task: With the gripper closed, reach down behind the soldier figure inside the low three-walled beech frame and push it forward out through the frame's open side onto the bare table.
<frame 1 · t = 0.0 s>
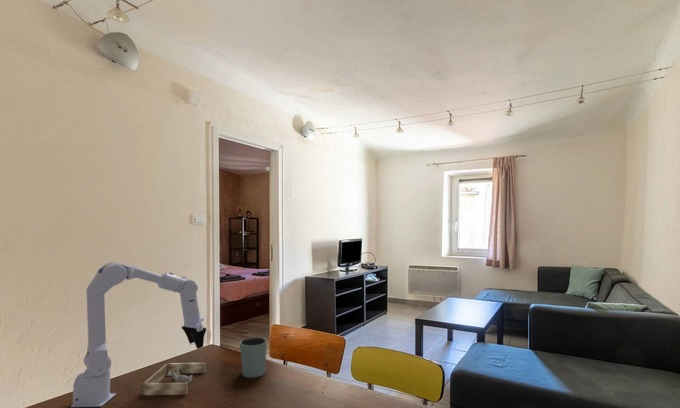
hand: (196, 345, 137), 11 cm above the table, tool pointing down, fingers open, 7 cm apart
green cup: (253, 373, 137), on the table
soldier figure: (180, 383, 129), on the table
beech frame: (177, 382, 129), on the table
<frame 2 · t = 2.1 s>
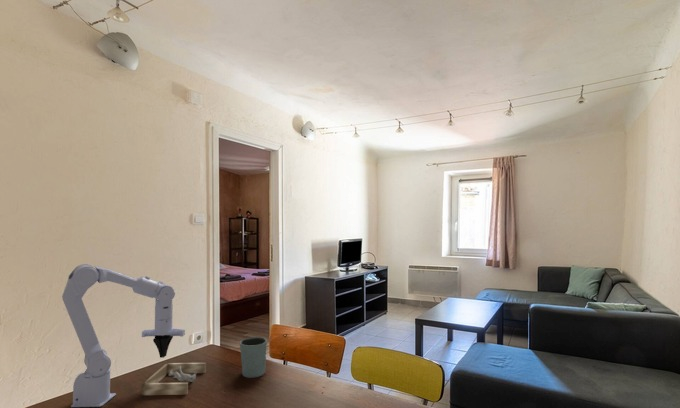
hand: (163, 356, 129), 9 cm above the table, tool pointing down, fingers closed
soldier figure: (182, 382, 130), on the table
everything else where it was.
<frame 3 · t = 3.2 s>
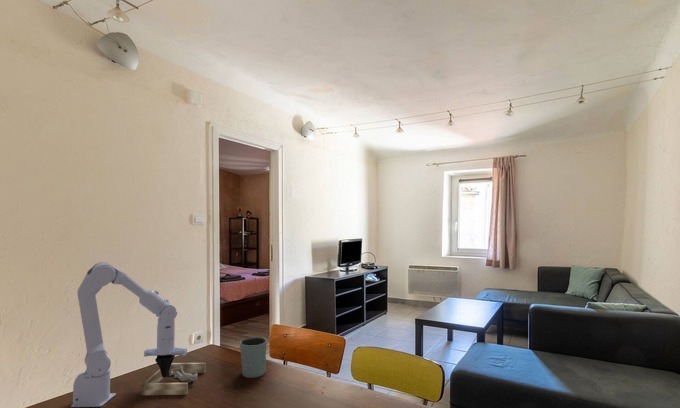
hand: (165, 376, 129), 2 cm above the table, tool pointing down, fingers closed
nothing on the table moved.
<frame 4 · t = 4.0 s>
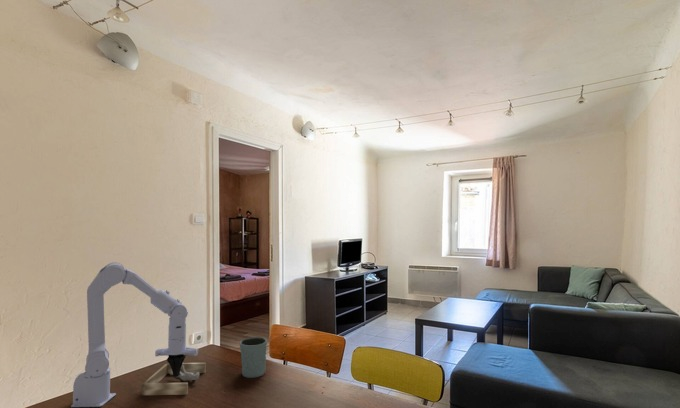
hand: (176, 375, 129), 2 cm above the table, tool pointing down, fingers closed
soldier figure: (185, 381, 131), on the table, touching gripper
everything else where it was.
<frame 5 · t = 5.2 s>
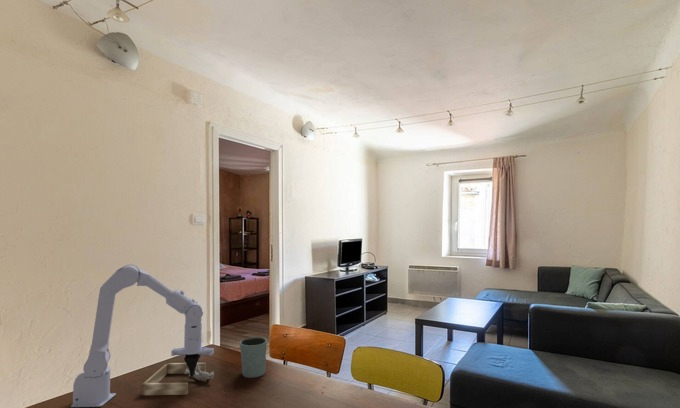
hand: (192, 375, 129), 2 cm above the table, tool pointing down, fingers closed, pressing on soldier figure
soldier figure: (199, 380, 131), on the table, touching gripper
everything else where it was.
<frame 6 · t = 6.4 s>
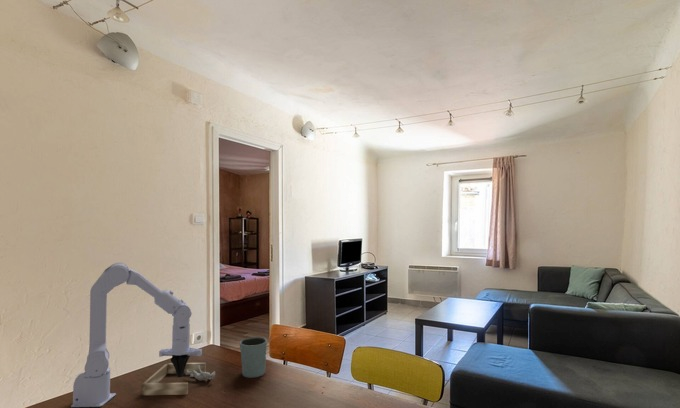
hand: (180, 376, 129), 2 cm above the table, tool pointing down, fingers closed
soldier figure: (200, 380, 131), on the table
everything else where it was.
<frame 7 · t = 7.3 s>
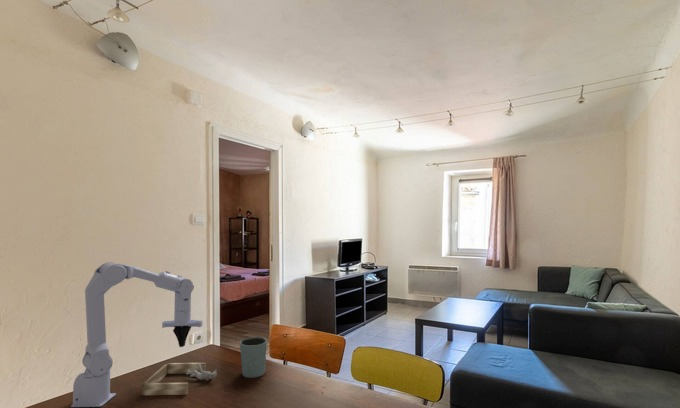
hand: (182, 346, 137), 10 cm above the table, tool pointing down, fingers closed
nothing on the table moved.
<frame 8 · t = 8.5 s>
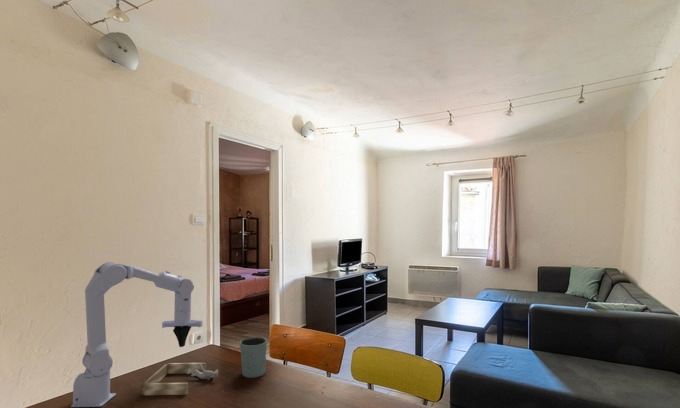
hand: (182, 346, 137), 10 cm above the table, tool pointing down, fingers closed
at the end: soldier figure inside the target area (10.7 cm from its centre), on the table; soldier figure moved 7.8 cm from its start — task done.
